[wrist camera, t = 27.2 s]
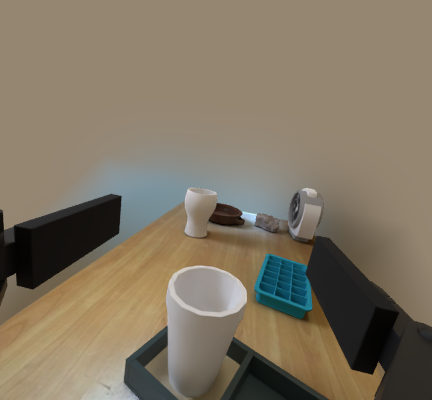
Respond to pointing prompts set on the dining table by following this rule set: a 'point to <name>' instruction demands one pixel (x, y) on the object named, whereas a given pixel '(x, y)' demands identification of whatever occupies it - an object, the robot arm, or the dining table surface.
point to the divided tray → (226, 379)
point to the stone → (267, 222)
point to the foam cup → (201, 325)
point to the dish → (226, 215)
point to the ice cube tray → (284, 286)
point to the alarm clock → (305, 214)
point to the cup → (199, 210)
